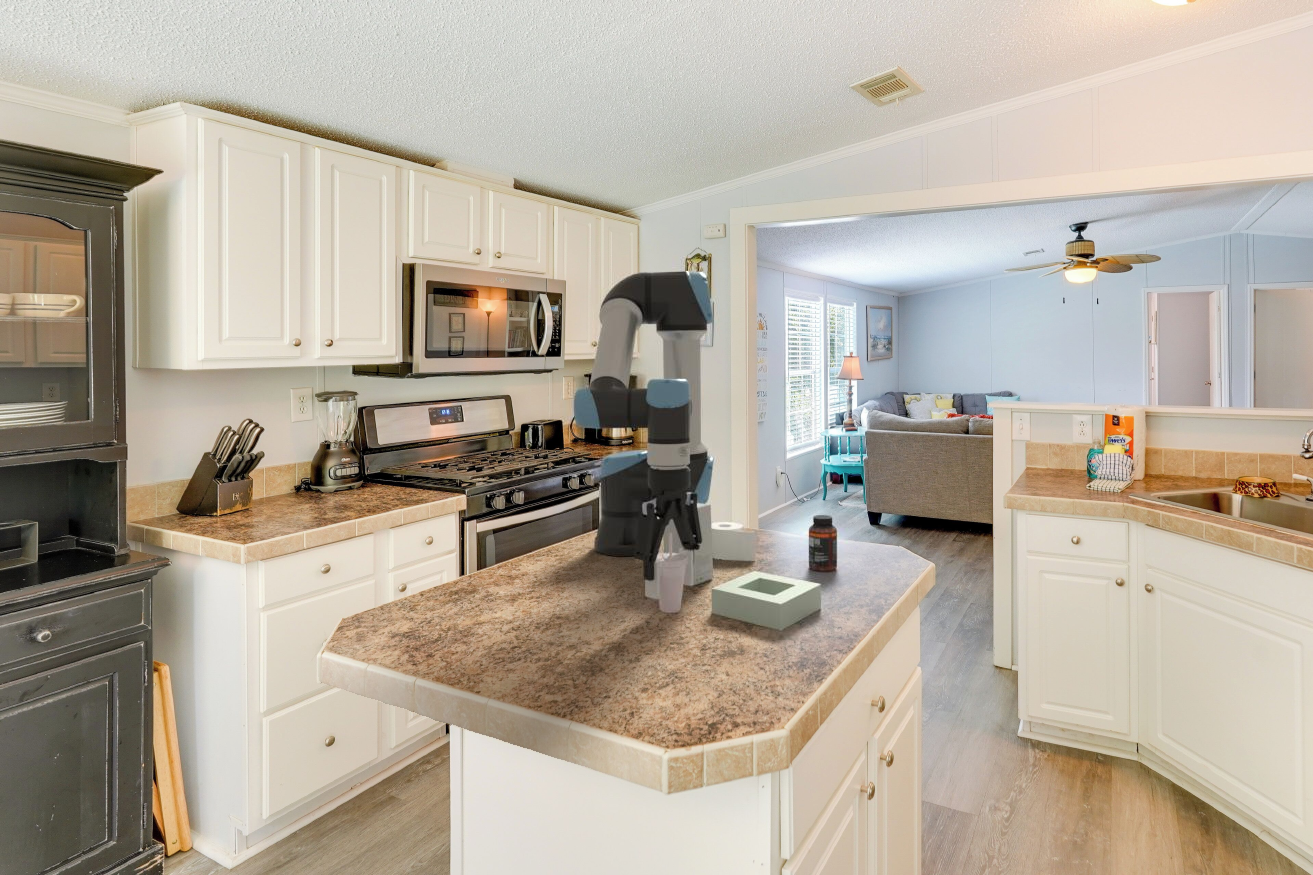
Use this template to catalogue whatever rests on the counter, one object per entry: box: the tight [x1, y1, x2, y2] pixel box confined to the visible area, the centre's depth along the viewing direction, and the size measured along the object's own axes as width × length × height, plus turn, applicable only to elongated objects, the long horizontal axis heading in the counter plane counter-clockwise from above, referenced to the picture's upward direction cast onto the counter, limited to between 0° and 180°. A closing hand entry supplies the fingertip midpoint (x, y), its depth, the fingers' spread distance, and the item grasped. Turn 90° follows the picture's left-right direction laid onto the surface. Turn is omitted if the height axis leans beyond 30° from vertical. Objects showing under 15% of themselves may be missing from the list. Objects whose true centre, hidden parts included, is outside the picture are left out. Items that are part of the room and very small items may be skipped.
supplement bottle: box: [808, 514, 838, 572], centre depth 159 cm, size 6×6×11 cm
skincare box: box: [662, 503, 714, 586], centre depth 152 cm, size 8×7×16 cm
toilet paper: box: [711, 521, 757, 562], centre depth 171 cm, size 8×11×7 cm
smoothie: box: [656, 532, 688, 614], centre depth 133 cm, size 6×6×14 cm
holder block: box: [711, 570, 822, 632], centre depth 132 cm, size 14×14×4 cm
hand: (670, 590), depth 133 cm, fingers open, 9 cm apart
